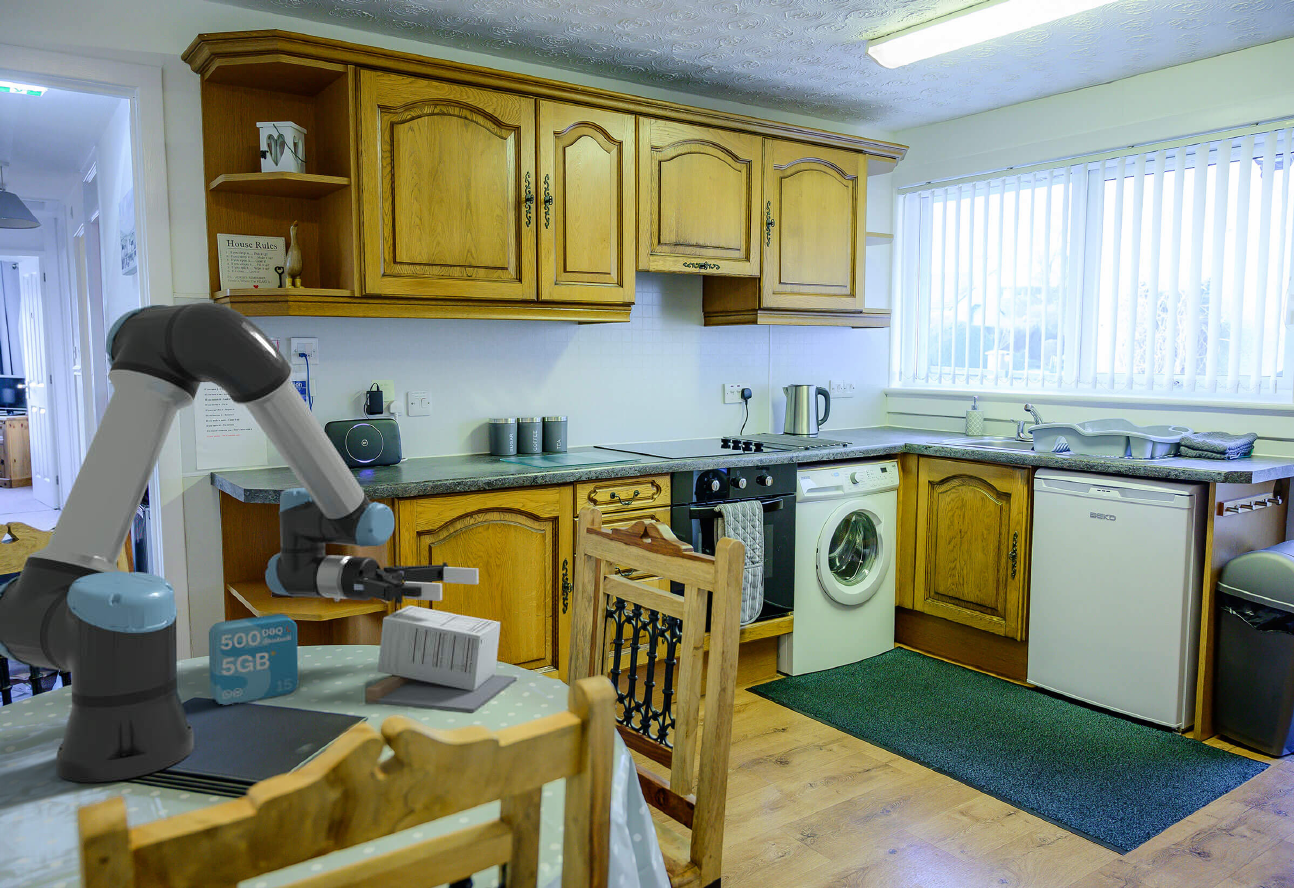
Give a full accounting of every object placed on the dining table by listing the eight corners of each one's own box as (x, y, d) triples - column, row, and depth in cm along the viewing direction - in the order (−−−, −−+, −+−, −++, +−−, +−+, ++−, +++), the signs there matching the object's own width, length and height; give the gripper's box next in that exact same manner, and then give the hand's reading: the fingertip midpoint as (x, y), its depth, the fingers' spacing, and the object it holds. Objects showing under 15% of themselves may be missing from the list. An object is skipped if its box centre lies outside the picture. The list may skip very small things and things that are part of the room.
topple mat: (366, 701, 134) (366, 688, 134) (419, 671, 150) (418, 659, 150) (473, 712, 130) (473, 698, 130) (516, 679, 145) (516, 667, 145)
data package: (215, 708, 132) (214, 629, 131) (209, 700, 135) (208, 623, 135) (298, 692, 139) (297, 617, 138) (290, 685, 142) (289, 612, 142)
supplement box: (375, 673, 141) (473, 693, 137) (381, 617, 140) (479, 636, 136) (404, 656, 150) (496, 674, 146) (410, 603, 149) (502, 621, 146)
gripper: (389, 584, 167) (491, 590, 162) (307, 615, 143) (424, 623, 138) (388, 545, 167) (490, 550, 161) (306, 569, 143) (423, 575, 137)
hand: (460, 583), depth 150 cm, fingers open, 13 cm apart
